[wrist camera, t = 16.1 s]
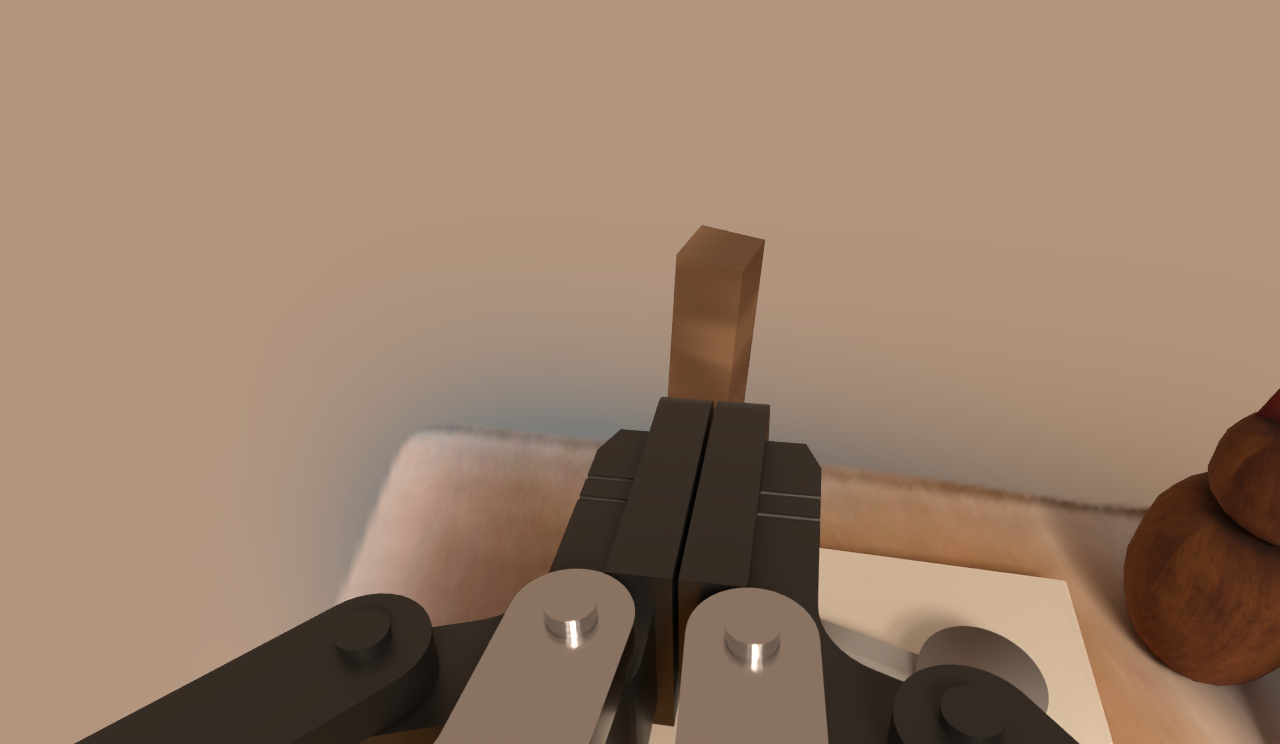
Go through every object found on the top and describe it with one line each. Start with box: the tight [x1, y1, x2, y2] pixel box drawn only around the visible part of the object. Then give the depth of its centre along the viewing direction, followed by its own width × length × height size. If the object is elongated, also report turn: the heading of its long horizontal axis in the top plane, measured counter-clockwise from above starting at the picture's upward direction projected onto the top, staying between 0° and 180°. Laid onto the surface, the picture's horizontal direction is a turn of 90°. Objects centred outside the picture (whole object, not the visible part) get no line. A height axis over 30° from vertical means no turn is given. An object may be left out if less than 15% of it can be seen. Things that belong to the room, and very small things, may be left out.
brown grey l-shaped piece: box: [668, 225, 1049, 713], centre depth 29 cm, size 15×4×16 cm, turn 66°
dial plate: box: [648, 548, 1113, 744], centre depth 32 cm, size 20×16×2 cm
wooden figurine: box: [1124, 389, 1280, 686], centre depth 32 cm, size 7×6×15 cm
